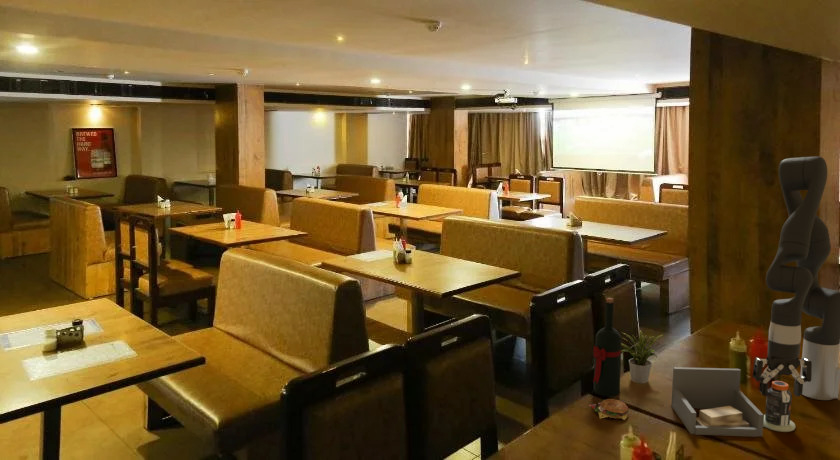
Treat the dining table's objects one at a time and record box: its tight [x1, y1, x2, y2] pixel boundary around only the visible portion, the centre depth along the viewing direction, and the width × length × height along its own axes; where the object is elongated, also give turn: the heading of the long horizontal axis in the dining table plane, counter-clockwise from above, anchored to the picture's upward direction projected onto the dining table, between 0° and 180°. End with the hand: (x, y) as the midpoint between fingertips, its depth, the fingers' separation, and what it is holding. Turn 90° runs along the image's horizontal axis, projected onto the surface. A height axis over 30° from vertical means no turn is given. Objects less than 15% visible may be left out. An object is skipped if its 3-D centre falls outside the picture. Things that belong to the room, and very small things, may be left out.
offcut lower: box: [696, 417, 749, 427], centre depth 170 cm, size 13×5×2 cm, turn 94°
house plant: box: [621, 329, 664, 384], centre depth 202 cm, size 14×14×16 cm
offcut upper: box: [698, 406, 742, 426], centre depth 170 cm, size 10×5×2 cm, turn 105°
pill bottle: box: [764, 380, 793, 426], centre depth 171 cm, size 6×6×11 cm
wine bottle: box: [592, 297, 622, 397], centre depth 191 cm, size 8×10×30 cm
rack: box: [671, 366, 765, 438], centre depth 173 cm, size 18×18×12 cm
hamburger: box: [589, 398, 629, 421], centre depth 180 cm, size 14×14×6 cm
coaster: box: [763, 414, 796, 433], centre depth 171 cm, size 9×9×1 cm
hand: (780, 395), depth 170 cm, fingers open, 8 cm apart
